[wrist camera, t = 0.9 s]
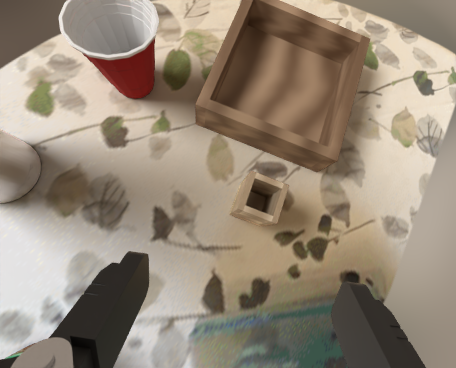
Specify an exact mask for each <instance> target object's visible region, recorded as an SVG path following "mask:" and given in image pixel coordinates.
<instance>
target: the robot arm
mask: <svg viewBox="0 0 456 368" xmlns="http://www.w3.org/2000/svg"><path fill="white" fill-rule="evenodd" d="M40 171H41V162H40V158H39V156H38V154H37V152H36V151H35V150H34V149H33V148H32V147H31V146H30V145H28V144H27V143H25V142H23V141H22V140H20V139H18V138H16V137H14V136H12V135H10V134H8V133H7V132H5V131H3V130H1V129H0V203H6V202H10V201H14V200H16V199H18V198H20V197H22V196H24V195H25V194H27V193H28V192H29V191H30V190H31V189H32V188H33V186H34V185H35V184H36V182H37V180H38V178H39V176H40ZM148 287H149V258H148V254H145V253H138V252H131V251H129V252H127V254H126V255H125V256H124V258H123V259H122V261H121V262H120V264H119V263H111V264H110V265H108V266H107V267H106V268H104V269H103V270H101V271H100V272H99V274H98V275H97V276H96V278H95V279H94V280H93V281H92V284H91V285H89V287H88V288H87V289H86V291H85V292H84V295H82V296H81V297H80V299H79V300H78V301H77V302H76V304H75V305H74V306H73V308H72V309H71V310H70V312H69V313H68V314H67V316H66V317H65V318H64V320H63V321H62V322H61V323H60V325H59V326H58V327H57V329H56V330H55V331H54V333H53V334H52V335H51V336H50V337H49V338H48V339H45V340H42V341H40V342H37V343H36V344H34V345H32V346H31V347H29V348H28V349H26V350H25V351H24V352H23V353H22V354H21V355H20V356H16V357H12V358H7V359H2V360H0V368H113V366H114V364H115V362H116V360H117V358H118V355H119V353H120V351H121V349H122V347H123V345H124V342H125V340H126V338H127V336H128V334H129V332H130V329H131V327H132V325H133V323H134V321H135V319H136V317H137V314H138V312H139V310H140V308H141V306H142V304H143V301H144V299H145V297H146V294H147V291H148ZM331 318H332V324H333V327H334V330H335V332H336V335H337V338H338V341H339V344H340V347H341V349H342V352H343V355H344V358H345V361H346V364H347V367H348V368H426V367H425V365H424V364H423V362H422V361H421V359H420V357H419V356H418V354H417V352H416V351H415V349H414V348H413V346H412V345H411V343H410V342H408V338H407V336H406V335H405V333H404V332H403V330H402V329H400V325H399V324H398V322H397V320H396V319H395V317H394V315H393V314H392V313H391V312H390V311H389V310H388V309H387V307H385V306H384V305H383V304H382V303H381V302H380V301H379V300H375V299H374V298H373V296H372V294H371V292H370V291H369V289H368V287H367V286H366V285H365V284H359V283H352V282H343V283H342V285H341V287H340V289H339V292H338V294H337V297H336V299H335V302H334V304H333V307H332V311H331Z"/></svg>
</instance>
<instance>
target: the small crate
mask: <svg viewBox="0 0 456 368" xmlns="http://www.w3.org/2000/svg"><path fill="white" fill-rule="evenodd" d="M288 187H289V185H287V184H284V183H282V182H279V181H276V180H274V179H271V178H269V177H266V176H264V175H261V174H259V173H256V172H253V171H251V172H250V173H249V174H248V175H247V177H246V178H245V179H244V180H243V182H242V183H241V184H240V187H239V190H238V192H237V195H236V198H235V200H234V203H233V206H232V209H231V211H230V215H233V216H235V217H238V218H240V219H243V220H246V221H248V222H251V223H253V224H256V225H259V226H265V225H272V224H277V222H278V219H279V216H280V213H281V209H282V206H283V203H284V200H285V197H286V193H287V190H288Z"/></svg>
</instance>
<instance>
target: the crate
mask: <svg viewBox="0 0 456 368" xmlns="http://www.w3.org/2000/svg"><path fill="white" fill-rule="evenodd" d="M369 42H370V39H369V38H367V37H365V36H362V35H360V34H358V33H355V32H353V31H351V30H348V29H346V28H343V27H341V26H339V25H336V24H334V23H332V22H329V21H327V20H325V19H322V18H320V17H318V16H315V15H313V14H310V13H308V12H306V11H303V10H301V9H299V8H296V7H294V6H292V5H289V4H287V3H284V2H282V1H280V0H242V2H241V4H240V6H239V9H238V11H237V13H236V15H235V18H234V20H233V22H232V24H231V26H230V29H229V31H228V33H227V35H226V37H225V40H224V42H223V44H222V46H221V49H220V51H219V53H218V55H217V57H216V60H215V62H214V64H213V66H212V68H211V71H210V73H209V75H208V77H207V80H206V82H205V84H204V86H203V88H202V91H201V93H200V95H199V97H198V99H197V102H196V104H195V111H196V124H197V125H199V126H202V127H204V128H207V129H210V130H212V131H215V132H217V133H220V134H222V135H225V136H227V137H230V138H232V139H235V140H237V141H240V142H242V143H245V144H247V145H250V146H252V147H255V148H257V149H260V150H262V151H265V152H267V153H270V154H273V155H275V156H278V157H280V158H283V159H285V160H288V161H290V162H293V163H295V164H298V165H300V166H303V167H305V168H308V169H310V170H313V171H315V172H318V171H320V170H322V169H323V168H325V167H327V166H329V165H331V164H333V163H335V162H337V161H338V157H339V153H340V150H341V146H342V142H343V138H344V135H345V131H346V127H347V124H348V120H349V116H350V112H351V109H352V105H353V101H354V98H355V94H356V90H357V86H358V83H359V79H360V75H361V72H362V68H363V64H364V60H365V57H366V53H367V49H368V46H369Z"/></svg>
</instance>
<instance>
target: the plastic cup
mask: <svg viewBox="0 0 456 368" xmlns="http://www.w3.org/2000/svg"><path fill="white" fill-rule="evenodd" d="M59 23H60V31H61V33H62V34H63V36H64V37H65V38H66V40H67V41H68V42H69V43H70V45H71V46H72V47H73V48H75V49H77V50H78V51H80V52H82V53H83V55H84V56H86V57H87V58H88V59H89V61H90V62H92V63H93V64H94V65H95V66H96V67H97V68H98V69H99V71H100V72H101V73H102V74H103V75H104V76H105V77H106V78H107V79H108V81H109V82H110V83H111V84H113V85H114V86H115V87H116V88H117V89H118V91H119V92H120V93H122V94H123V95H125V96H127V97H129V98H134V99H137V98H142V97H144V96H146V95H148V94H149V93H150V92H151V90H152V89H153V85H154V70H155V52H154V44H155V36H156V33H157V29H158V25H159V19H158V15H157V11H156V8H155V6H154V5H153V4H152V3H151V2H150V1H149V0H68V1H66V2H65V3H64V6H63V8H62V11H61V13H60V15H59Z"/></svg>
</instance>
